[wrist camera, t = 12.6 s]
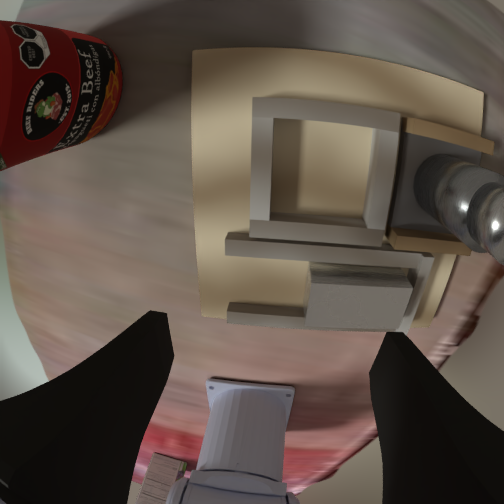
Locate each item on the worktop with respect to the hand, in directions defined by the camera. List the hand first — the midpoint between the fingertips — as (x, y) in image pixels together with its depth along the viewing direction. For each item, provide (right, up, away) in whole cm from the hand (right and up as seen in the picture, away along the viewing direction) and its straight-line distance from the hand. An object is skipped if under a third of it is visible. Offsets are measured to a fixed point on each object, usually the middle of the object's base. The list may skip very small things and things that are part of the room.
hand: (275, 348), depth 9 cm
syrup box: (-14, -31, +29) cm, 45 cm away
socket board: (+5, +6, +7) cm, 11 cm away
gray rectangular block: (+6, +1, +9) cm, 10 cm away
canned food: (-12, +14, +6) cm, 19 cm away
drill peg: (+10, +7, +5) cm, 13 cm away
